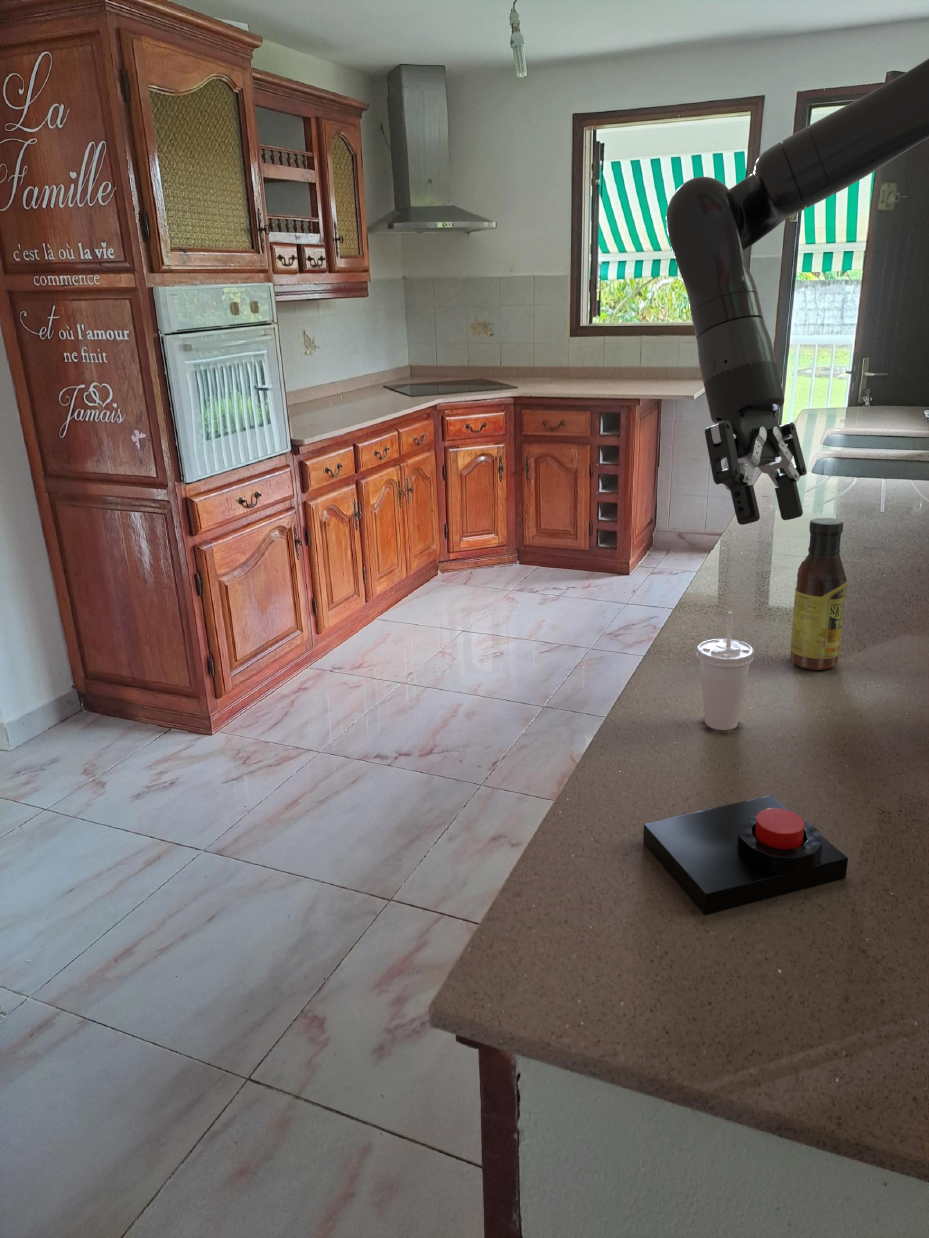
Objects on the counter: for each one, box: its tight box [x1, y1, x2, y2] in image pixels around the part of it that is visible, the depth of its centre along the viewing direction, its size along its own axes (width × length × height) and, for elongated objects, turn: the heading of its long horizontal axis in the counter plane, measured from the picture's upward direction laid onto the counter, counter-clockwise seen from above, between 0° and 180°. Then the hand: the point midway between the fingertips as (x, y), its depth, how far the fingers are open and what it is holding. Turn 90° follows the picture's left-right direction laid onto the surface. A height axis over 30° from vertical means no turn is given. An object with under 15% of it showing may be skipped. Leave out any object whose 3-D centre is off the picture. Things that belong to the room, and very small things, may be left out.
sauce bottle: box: [789, 517, 848, 671], centre depth 117 cm, size 6×6×20 cm
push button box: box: [642, 794, 849, 916], centre depth 80 cm, size 14×12×4 cm
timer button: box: [755, 808, 805, 850], centre depth 77 cm, size 4×4×2 cm
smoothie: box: [696, 611, 755, 731], centre depth 103 cm, size 6×6×14 cm
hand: (771, 520), depth 92 cm, fingers open, 8 cm apart
